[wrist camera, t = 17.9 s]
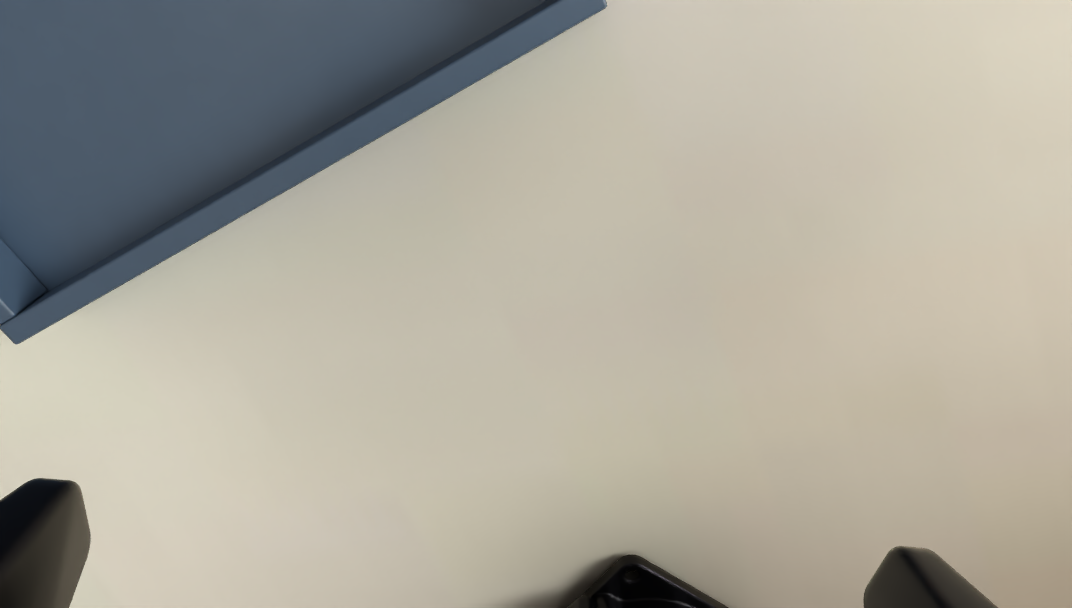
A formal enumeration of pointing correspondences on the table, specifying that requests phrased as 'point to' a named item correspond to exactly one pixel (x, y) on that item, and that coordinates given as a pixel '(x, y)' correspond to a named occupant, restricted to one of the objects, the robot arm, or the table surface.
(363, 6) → the blue rectangular tray
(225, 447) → the table surface
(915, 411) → the table surface
